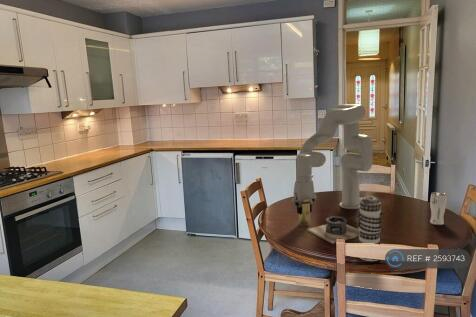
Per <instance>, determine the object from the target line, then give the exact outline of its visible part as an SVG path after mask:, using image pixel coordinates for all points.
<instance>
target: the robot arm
mask: <svg viewBox="0 0 476 317" xmlns="http://www.w3.org/2000/svg"><path fill="white" fill-rule="evenodd" d="M365 115H366V108H365V107H364V106H363V104H358V103H357V104H354V103H352V104H351V103H345V104H344V103H341V104H337V105H335V107H334V108H330V109H327V111H326V112H325V114H324V116H323V119H322V120H321V122H320V125H319V126H318V127H319V128H318V130H317V131H316V132H315V133H313V135H311V136H310V137H309V138H308V139H306V141H305V142H304V143H303V144H302V146H301V149H300V151H299V153H298V154H297V155H296V161H295V162H296V180H295V182H294V186H293V197H292V199H291V202H292V203H293V204H294V205H295V206H296V213H297V214H298V215H299V214H300V215H301V214H302V207H301V204H302V201H304V200H306V199H310V213H312V212H313V205H314V202H315V200H316V199H317V198H318V196H317V194H316V193H315V186H314V181H313V177H314V175H313V168H320V167H323V166H324V165H325V163H326V161H327V157H326V156H325V154H324V153H323V152H320V151H314V149H315V148H316V147H318V146H319V145H322V144H325V143H327V142H329V141H331V140H333V139H334V137H335V136H334V135H335V133H336V131H337V130H338V127H339V126H342V129H343V148H344V150H346V151H351V152H345V153H343V154H342V155H341V158H340V167H341V172H342V173H341V174H342V182H341V183H342V184H341V186H342V187H341V189H342V190H341V191H342V192H341V193H342V194H341V195H342V196H341V198H342V199H341V201H340V203H339V204H338V205H339V207H340V208H341V209H342V208H343V209H346V210H359V209H360V200H362V198H363V197H360V181H361V180H360V179H361V178H360V174H359V172H369V171H370V170H371V169H372V167H373V157H374V156H373V155H374V154H373V150H374V149H373V148H374V147H373V143H374V142H373V140H372V137H371V136H369V135H366V134H360V123H359V122H360V121H362V120H363V118H365ZM357 152H359V153H357Z"/></svg>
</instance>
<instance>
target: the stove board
mask: <svg viewBox="0 0 476 317" xmlns="http://www.w3.org/2000/svg"><path fill="white" fill-rule="evenodd" d="M336 222H337V223H340V222H341V221H340V220H337V221H336ZM326 225H327V224H321V225H318V226H315V227H311V228H308V229H307V232H309V233H310V234H313V235H314V236H317V237H319V238H321V239H323V240H325V241H326V242H328V243H331V245H334V244H337V243H336V239H337V238H342V239H345V241H348V240H351V239H352V240H353V239H355V238H359V235H360V230H359V228H357V227H354V226H351V225H349V224H347V225H345V226H347V232H346V233H345V234H341V235H336V234H330V233H328V232H326ZM332 229H336V230H340V228H332Z"/></svg>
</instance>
